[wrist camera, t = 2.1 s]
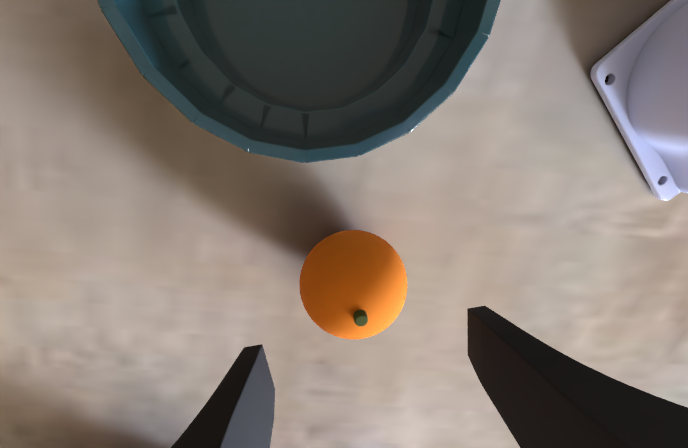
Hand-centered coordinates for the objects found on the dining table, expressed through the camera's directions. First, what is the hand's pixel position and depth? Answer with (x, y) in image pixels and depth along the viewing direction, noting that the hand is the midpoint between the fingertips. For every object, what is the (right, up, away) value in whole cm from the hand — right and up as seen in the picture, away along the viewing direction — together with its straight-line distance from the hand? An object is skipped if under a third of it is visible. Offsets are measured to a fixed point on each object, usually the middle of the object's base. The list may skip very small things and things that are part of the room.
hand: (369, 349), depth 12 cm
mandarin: (0, +1, +6) cm, 6 cm away
